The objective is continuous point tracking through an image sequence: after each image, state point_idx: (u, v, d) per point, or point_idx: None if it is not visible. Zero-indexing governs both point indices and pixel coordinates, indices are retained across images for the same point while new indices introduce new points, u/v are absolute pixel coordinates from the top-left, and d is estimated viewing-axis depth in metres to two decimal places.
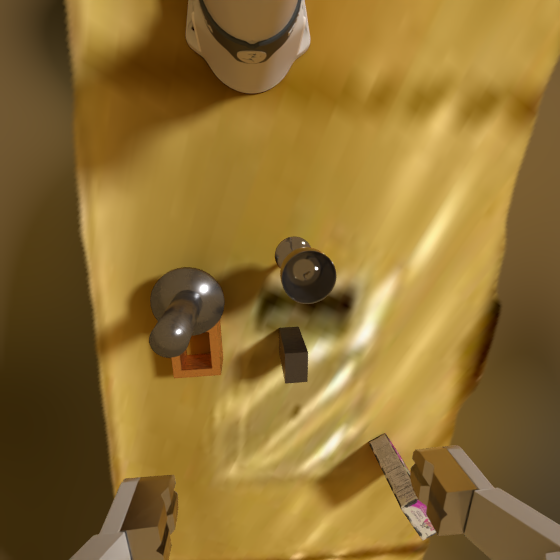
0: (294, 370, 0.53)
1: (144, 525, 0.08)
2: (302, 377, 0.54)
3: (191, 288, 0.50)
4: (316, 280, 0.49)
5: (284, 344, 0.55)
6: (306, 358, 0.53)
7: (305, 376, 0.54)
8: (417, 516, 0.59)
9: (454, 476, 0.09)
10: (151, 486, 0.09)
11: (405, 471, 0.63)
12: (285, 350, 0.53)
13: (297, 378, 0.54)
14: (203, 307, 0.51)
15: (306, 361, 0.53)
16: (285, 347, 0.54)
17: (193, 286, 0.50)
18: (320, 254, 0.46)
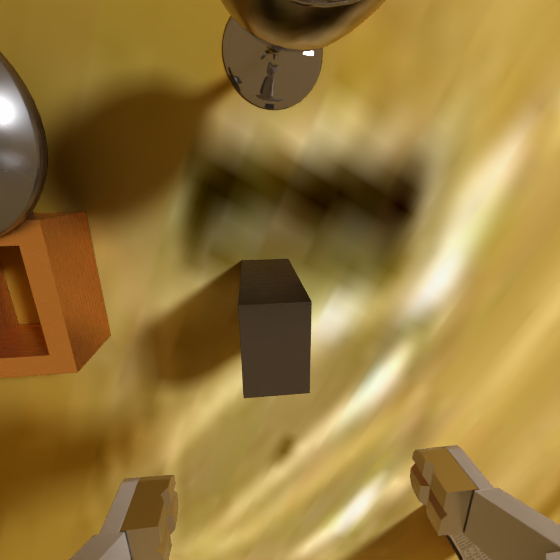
0: (271, 359, 0.18)
1: (144, 525, 0.08)
2: (295, 380, 0.18)
3: None
4: None
5: (244, 286, 0.19)
6: (307, 322, 0.17)
7: (304, 377, 0.18)
8: None
9: (454, 476, 0.09)
10: (151, 486, 0.09)
11: None
12: (242, 298, 0.17)
13: (280, 382, 0.18)
14: None
15: (307, 331, 0.17)
16: (244, 291, 0.18)
17: None
18: None
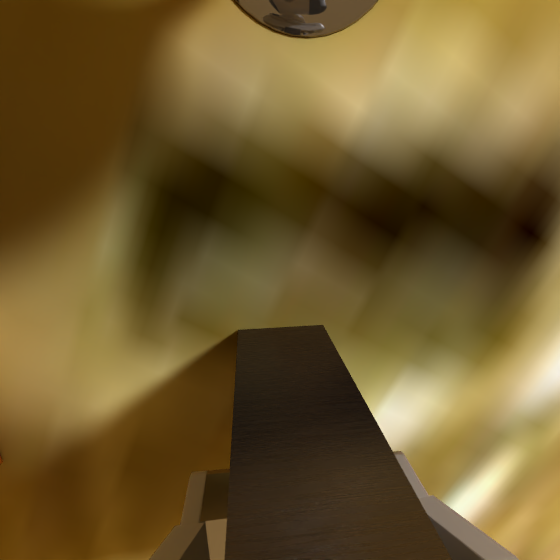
0: None
1: (222, 516, 0.08)
2: None
3: None
4: None
5: (242, 453, 0.08)
6: None
7: None
8: None
9: None
10: (220, 479, 0.09)
11: None
12: (236, 550, 0.06)
13: None
14: None
15: None
16: (244, 495, 0.06)
17: None
18: None
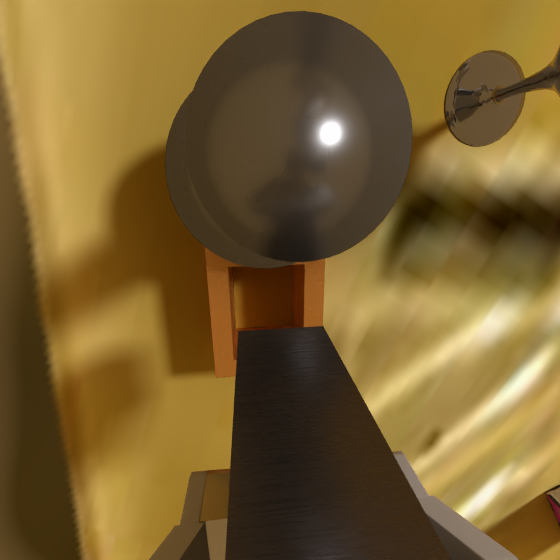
0: None
1: (222, 516, 0.08)
2: None
3: None
4: None
5: (242, 455, 0.08)
6: None
7: None
8: None
9: None
10: (220, 479, 0.09)
11: None
12: (237, 552, 0.06)
13: None
14: None
15: None
16: (244, 497, 0.07)
17: None
18: None
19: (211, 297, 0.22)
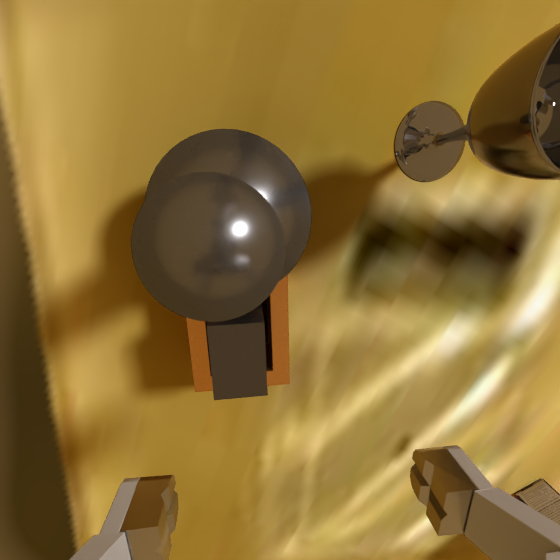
0: (235, 368, 0.22)
1: (144, 525, 0.08)
2: (255, 385, 0.23)
3: None
4: (544, 150, 0.20)
5: None
6: (261, 338, 0.22)
7: (262, 382, 0.23)
8: None
9: (454, 476, 0.09)
10: (151, 486, 0.09)
11: None
12: None
13: (243, 387, 0.23)
14: None
15: (262, 346, 0.22)
16: None
17: (244, 177, 0.21)
18: None
19: (188, 322, 0.25)
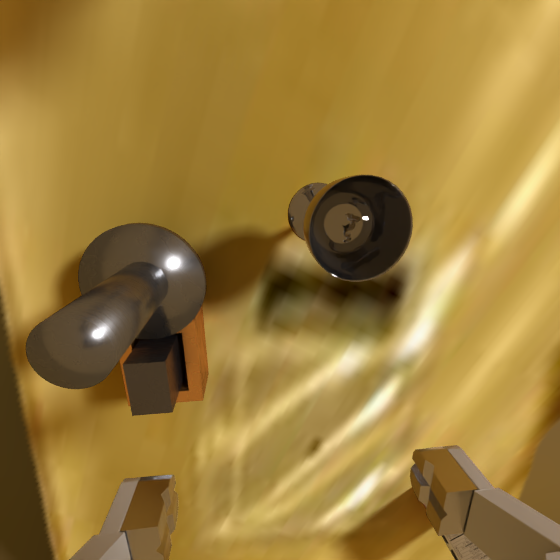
0: (146, 393, 0.30)
1: (144, 525, 0.08)
2: (162, 405, 0.31)
3: (148, 259, 0.29)
4: (363, 243, 0.28)
5: (136, 347, 0.32)
6: (164, 372, 0.30)
7: (167, 403, 0.31)
8: None
9: (454, 476, 0.09)
10: (151, 486, 0.09)
11: None
12: (128, 358, 0.30)
13: (153, 406, 0.31)
14: (170, 292, 0.31)
15: (165, 377, 0.30)
16: (133, 352, 0.31)
17: (151, 256, 0.29)
18: (375, 194, 0.26)
19: None
